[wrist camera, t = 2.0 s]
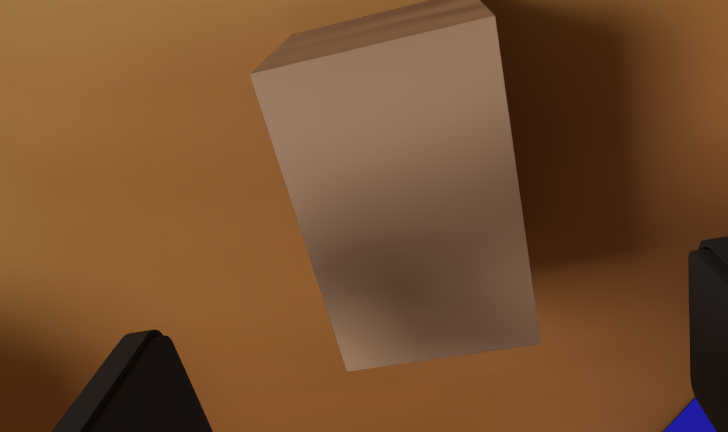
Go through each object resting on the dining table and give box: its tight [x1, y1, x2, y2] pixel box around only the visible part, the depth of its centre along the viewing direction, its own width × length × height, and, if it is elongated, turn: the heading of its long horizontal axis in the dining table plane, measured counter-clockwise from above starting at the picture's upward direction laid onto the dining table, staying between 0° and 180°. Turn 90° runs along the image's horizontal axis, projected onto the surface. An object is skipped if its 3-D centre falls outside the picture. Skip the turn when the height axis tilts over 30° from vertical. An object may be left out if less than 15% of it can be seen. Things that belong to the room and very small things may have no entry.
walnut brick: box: [250, 0, 541, 371], centre depth 15 cm, size 8×5×5 cm, turn 14°
